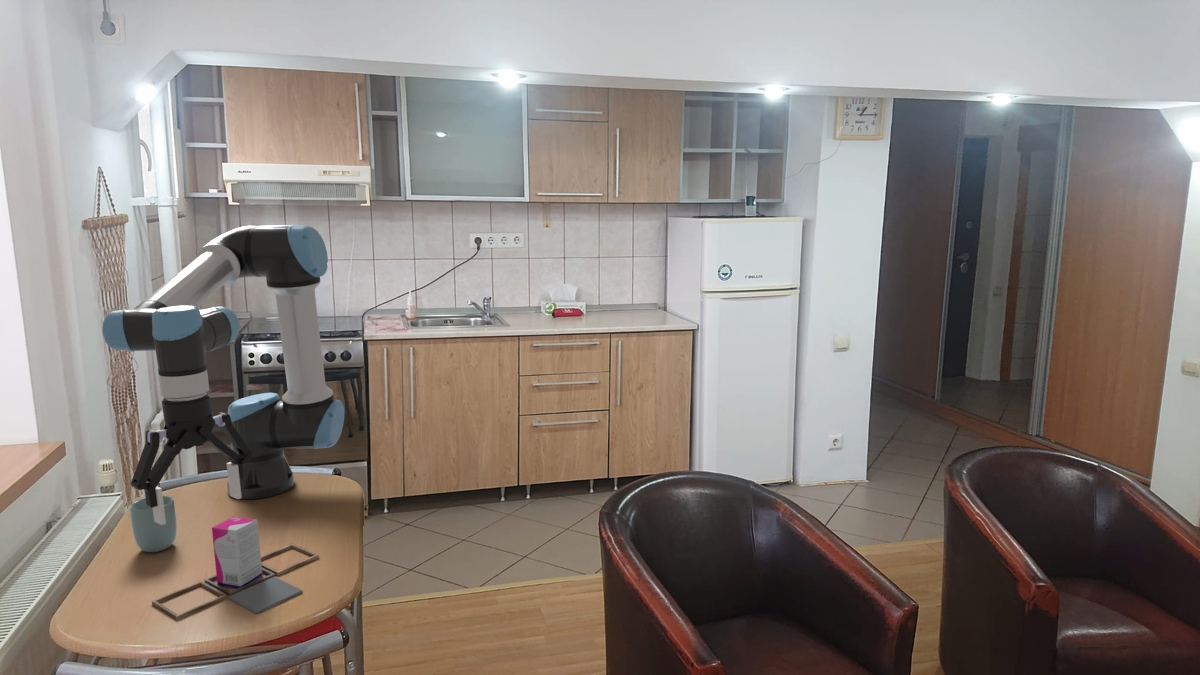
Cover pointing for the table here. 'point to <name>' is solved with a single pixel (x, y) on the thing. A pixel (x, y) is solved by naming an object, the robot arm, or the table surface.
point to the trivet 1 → (178, 616)
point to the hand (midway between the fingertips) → (199, 509)
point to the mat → (265, 594)
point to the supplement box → (237, 552)
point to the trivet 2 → (314, 556)
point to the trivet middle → (229, 593)
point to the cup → (153, 525)
